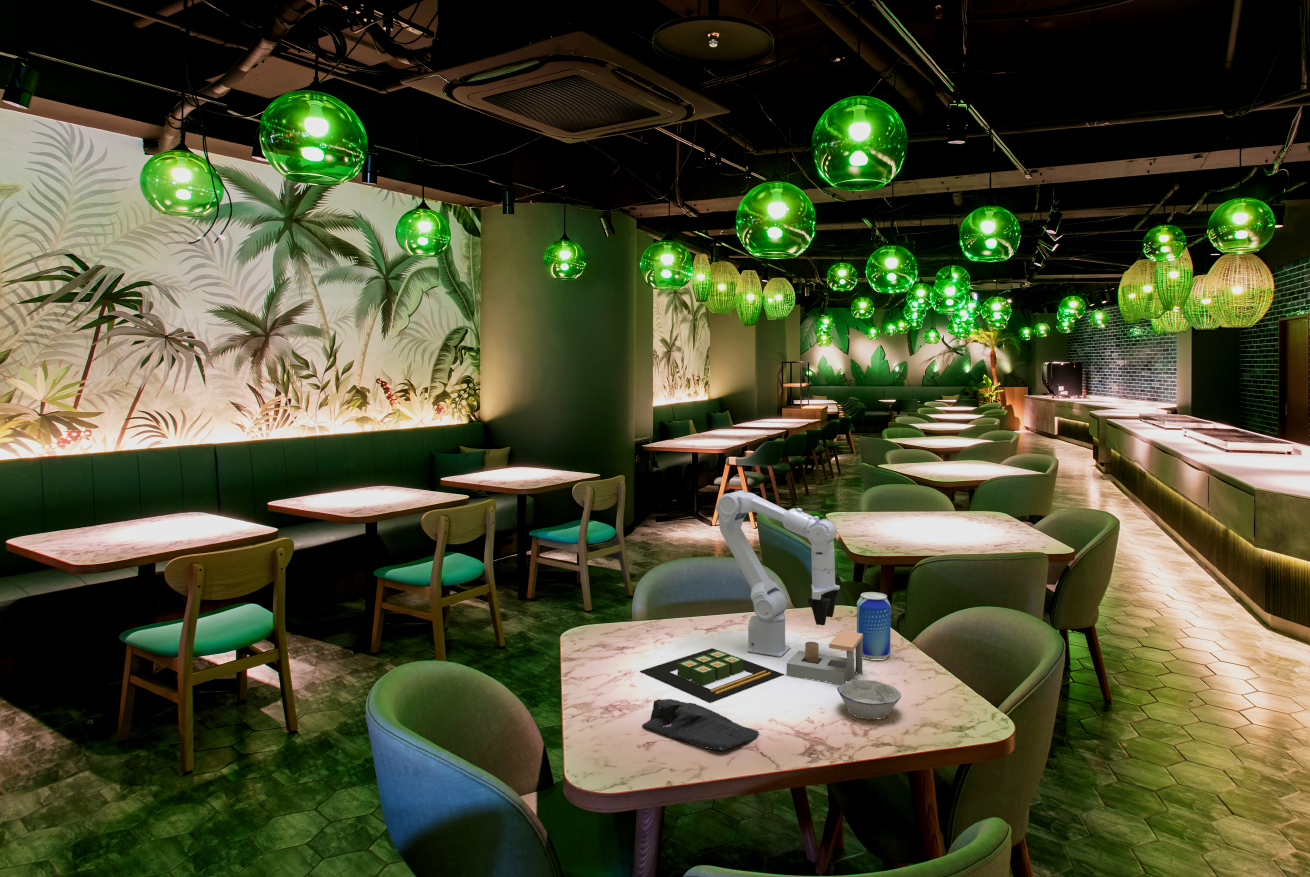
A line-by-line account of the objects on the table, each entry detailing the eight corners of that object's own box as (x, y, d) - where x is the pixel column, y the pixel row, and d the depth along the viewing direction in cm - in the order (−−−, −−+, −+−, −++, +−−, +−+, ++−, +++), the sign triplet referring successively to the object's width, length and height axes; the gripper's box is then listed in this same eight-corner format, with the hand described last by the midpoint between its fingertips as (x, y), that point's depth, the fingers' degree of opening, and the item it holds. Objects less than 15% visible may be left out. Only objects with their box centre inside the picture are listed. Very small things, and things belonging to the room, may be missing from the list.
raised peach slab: (828, 683, 171) (828, 643, 171) (840, 668, 181) (840, 630, 180) (852, 687, 169) (852, 647, 168) (863, 671, 178) (863, 633, 178)
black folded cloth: (716, 764, 135) (716, 739, 135) (636, 727, 150) (635, 705, 150) (766, 736, 146) (766, 713, 145) (686, 705, 161) (686, 684, 161)
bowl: (824, 709, 157) (824, 687, 157) (863, 695, 165) (863, 674, 164) (873, 730, 147) (873, 707, 146) (912, 714, 154) (913, 692, 154)
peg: (803, 672, 178) (803, 644, 178) (806, 668, 181) (806, 640, 181) (816, 674, 177) (816, 646, 176) (819, 670, 180) (819, 642, 179)
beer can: (886, 650, 193) (886, 591, 192) (893, 661, 185) (894, 599, 184) (854, 650, 194) (854, 590, 193) (860, 661, 185) (860, 599, 185)
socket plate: (786, 675, 177) (786, 663, 177) (798, 661, 185) (798, 650, 185) (844, 685, 170) (844, 672, 170) (854, 670, 179) (854, 658, 179)
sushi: (710, 705, 161) (709, 689, 161) (639, 674, 180) (639, 659, 180) (783, 677, 177) (783, 662, 177) (712, 651, 196) (712, 637, 196)
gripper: (831, 575, 177) (832, 630, 178) (845, 563, 190) (847, 614, 190) (803, 573, 180) (804, 627, 181) (819, 561, 193) (820, 611, 194)
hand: (824, 620), depth 186 cm, fingers open, 7 cm apart
